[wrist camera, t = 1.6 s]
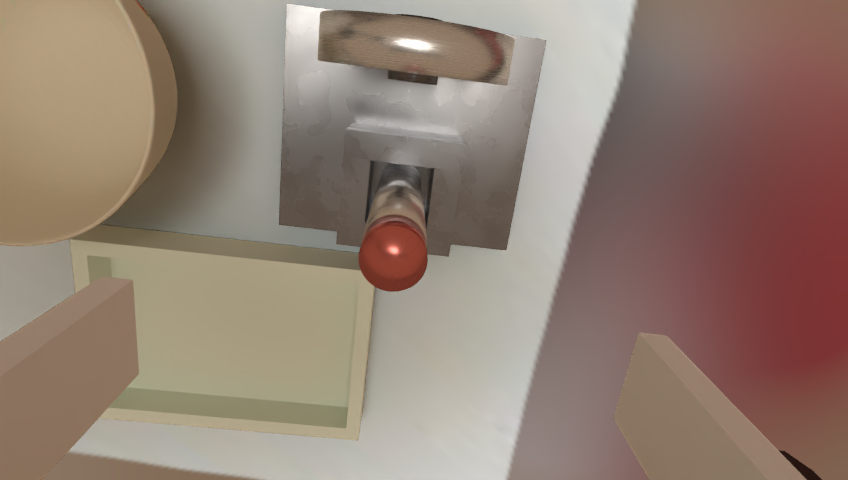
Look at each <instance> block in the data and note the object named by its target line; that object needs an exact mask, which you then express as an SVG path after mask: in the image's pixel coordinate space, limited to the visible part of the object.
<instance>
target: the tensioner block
mask: <svg viewBox="0 0 848 480" xmlns="http://www.w3.org/2000/svg"><path fill="white" fill-rule="evenodd" d="M545 44H546V40H542V39H535V38H528V37H521V36H514V35H507V34H501V33H498V32H494V31H490V30H485V29H481V28H476V27H471V26H466V25H461V24H455V23H450V22H444V21H442V20H438V19H434V18H429V17H422V16H415V15H404V14H396V15H393V14H384V13H374V12H363V11H345V10H329V9H322V8H315V7H308V6H300V5H293V4H287V15H286V43H285V71H284V99H283V127H282V154H281V182H280V210H279V225H286V226H295V227H304V228H313V229H322V230H331V231H337V244H341V245H350V246H359V247H361V245H362V237H363V233H364V230H365V227H366V223H367V220H368V217H369V213H370V210H371V207H372V203H373V200H374V196H375V193H376V190H377V186H378V183H379V180H380V176H381V173H382V171H383V170H384V169H385V167H387V166H388V165H389V164H391V163H396V164H404V165H413V166H414V167H415V168H416V169H417V170H418V171H419V173H420V176H421V183H422V193H423V204H424V214H425V225H426V235H427V254H431V255H440V256H449V251H450V245H451V244H455V245H464V246H473V247H482V248H491V249H500V250H506V249H507V244H508V238H509V233H510V228H511V223H512V217H513V212H514V207H515V202H516V196H517V191H518V186H519V181H520V175H521V170H522V165H523V160H524V154H525V149H526V144H527V139H528V133H529V128H530V123H531V118H532V112H533V107H534V102H535V97H536V91H537V86H538V81H539V76H540V70H541V65H542V60H543V55H544V49H545Z"/></svg>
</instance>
